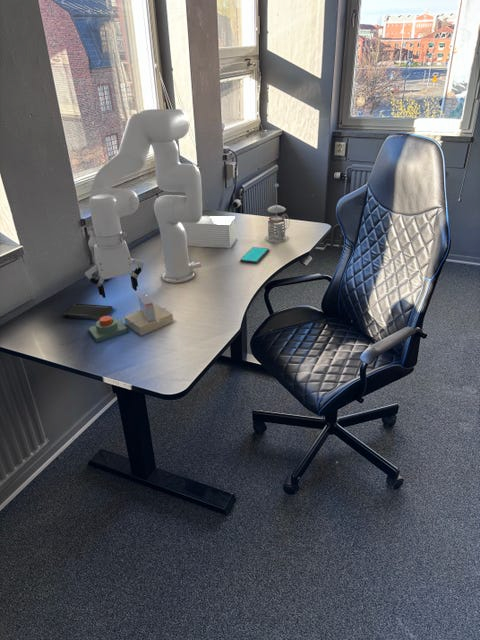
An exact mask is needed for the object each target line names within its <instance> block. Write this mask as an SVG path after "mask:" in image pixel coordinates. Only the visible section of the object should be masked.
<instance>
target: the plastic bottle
mask: <svg viewBox="0 0 480 640" xmlns="http://www.w3.org/2000/svg"><path fill="white" fill-rule="evenodd" d="M88 232H89V236H90V237H89V239H88V241H87V245H88V248H89V251H90V253H91V256H92V260H93V266H95V265H96V264H95V257H94V245H95V244H97V243H96V238H95V233H94V228H90V229H89V230H88ZM94 275H95V278H97V277H98V276H99V274H98V273H97V271H96V272H95V273H94ZM105 280H107V279H105ZM105 280H104V281H105Z"/></svg>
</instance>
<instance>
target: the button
mask: <svg viewBox="0 0 480 640" xmlns="http://www.w3.org/2000/svg"><path fill="white" fill-rule="evenodd" d="M111 317H112V316H110V315H108V316H103V317H101V318H100V324H101V326H107V325H110V324H112V318H113V317H112V318H111Z"/></svg>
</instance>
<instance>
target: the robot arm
mask: <svg viewBox="0 0 480 640" xmlns="http://www.w3.org/2000/svg"><path fill="white" fill-rule="evenodd" d="M189 130H190V119H189V116H188V114H187V113H186V112H185V111H184V110H183V109H179V108H166V109H165V108H156V109H155V108H153V109H152V108H151V109H144V110H142V111H139V112H137V113H134V114H131V115H130V116H129V117H128V119H127V121H126V124H125V128H124V130H123V134H122V137H121V140H120V143H119V146H118V150H117V153H116V154H115V155H114V156H113V157H112V158H110V159H109V160H108V161H107V162H106V163H105V164H104V165H103V166H101V167H100V169H99V170H98V171H97V173H96V174H95V176H94V178H93V181H92V184H91V187H90V190H89V195H88V196H89V197H88V208H89V212H90V217H91V222H92V227H93V228H94V233H95V238H96V243H97V244H95V245H94V257H95V264H96V265H95V266H94V265H93V266H92V267H91V268H89V269H88V270H86V271H85V272H84V276H85V277H86V278H87V279H88V280H89V281H90V282H91V283H92V284H94V285H96V286H97V291H98V295H99V296H101V297H102V299H106V292H105V286H104V281H105V279H106V280H109V279H114V278H117V277H122V276H127V275H130V282H131V287H132V289H133V290H134V291H135V292H136V291H138V287H139V282H138V277H139V275H140V274H141V272H142V270H143V267H144V264H145V263H144V262H143V260H140V259H138V258H137V259H136V258H133V257H131V253H130V250H129V246H128V244H127V241H126V240H125V238H126V237H129V236H128V232H127V231H122V225H121V220H120V219H121V218H123V217H127V216H130V215H133V214H135V212H137V210H138V208H139V206H140V199H139V196H138V194H137V193H136V191H134V190H132V189H130V188H121V187H120V188H119V187H118V188H117V187H113V186H114V185H115V184H116V183H117V182H118V181H119V180H122V178H125V177H127V176H129V175H132V174H134V173H136V172H138V171H140V170H142V169H143V168H144V167H145V165H146V162H147V158H148V155H149V151H150V148H152V151H153V157H154V158H153V159H154V169H155V171H154V172H155V180H156V185H157V188H158V189H159V190H161V191H164V192H172V193H185V195H179V194H178V195H177V194H164V195H160V196H158V197H157V198H156V199H155V200H154V203H153V212H154V215H155V218H156V221H157V225H158V229H159V235H160V241H161V247H162V248H161V249H162V255H163V256H162V257H163V264H164V271H163V272H162V274H161V278H162V280H163V281H164V282H166V283H170V284H180V283H184V282H187V281H191V280H192V279H193V278H194V277H195V271H194V270H195V269H199V268H201V267H202V264H201V262H195V261H192V262H190V257H189V246H187V237H186V231H185V229H184V227H183V225H182V224H181V223H197V222H199V221H200V219H201V217H202V216H203V188H202V187H203V186H202V176H201V172H200V169H199V168H198V167H197V165H195V164H192V163H181V162H180V154H179V152H180V151H179V147H178V144H177V142H176V141H178V140H180V139H183V138H184V137H185V136H186V135H187V134H188V132H189ZM93 228H92V229H93ZM133 265H136V268H135V269H134V266H133ZM96 271H97V273H98V274H99V276H98V277H94V276H93V275H94V274H95V272H96Z"/></svg>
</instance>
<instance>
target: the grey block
mask: <svg viewBox="0 0 480 640" xmlns="http://www.w3.org/2000/svg"><path fill="white" fill-rule="evenodd" d="M137 298H138V303H139V309H140V310H141V312H142V313H143V315H144V316H145V318H146V319H147V321H148V322H150V321H154V320H156V317H155V311H154V303H153V302H152V300H151V299H150V297H149V296H148V294H147V293H142V294H138V295H137Z"/></svg>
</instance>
